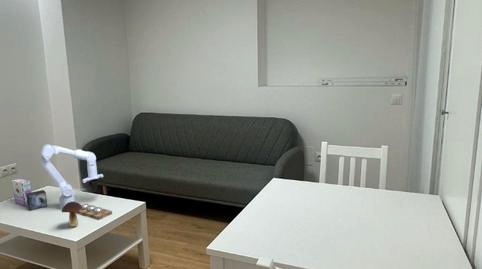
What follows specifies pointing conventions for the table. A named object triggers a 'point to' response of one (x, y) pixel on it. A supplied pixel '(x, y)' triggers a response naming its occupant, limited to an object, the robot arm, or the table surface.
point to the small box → (36, 200)
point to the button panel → (94, 215)
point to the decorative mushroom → (72, 212)
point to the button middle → (91, 208)
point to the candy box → (21, 191)
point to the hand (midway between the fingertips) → (94, 190)
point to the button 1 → (84, 206)
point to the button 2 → (98, 210)
